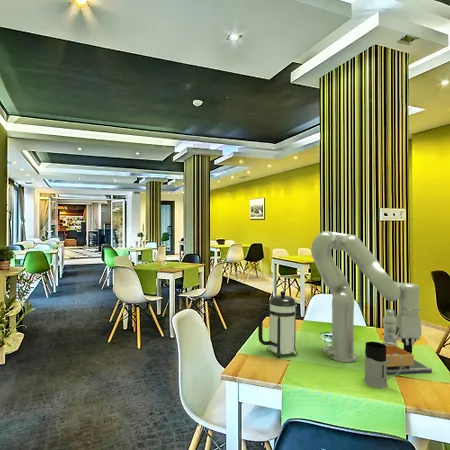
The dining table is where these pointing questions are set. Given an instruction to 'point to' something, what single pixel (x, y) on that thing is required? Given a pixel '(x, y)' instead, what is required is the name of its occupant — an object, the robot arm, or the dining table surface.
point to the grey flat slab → (410, 369)
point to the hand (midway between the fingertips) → (407, 353)
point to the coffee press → (280, 325)
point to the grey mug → (377, 365)
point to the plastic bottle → (389, 328)
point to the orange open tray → (395, 359)
